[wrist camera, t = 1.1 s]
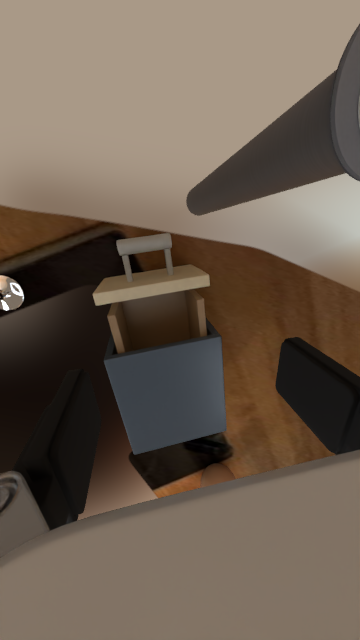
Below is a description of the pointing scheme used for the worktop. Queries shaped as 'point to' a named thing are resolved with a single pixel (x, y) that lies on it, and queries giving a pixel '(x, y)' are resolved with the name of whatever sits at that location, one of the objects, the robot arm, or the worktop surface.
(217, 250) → the worktop surface
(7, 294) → the wineglass
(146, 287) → the drawer
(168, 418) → the cabinet
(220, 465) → the egg
